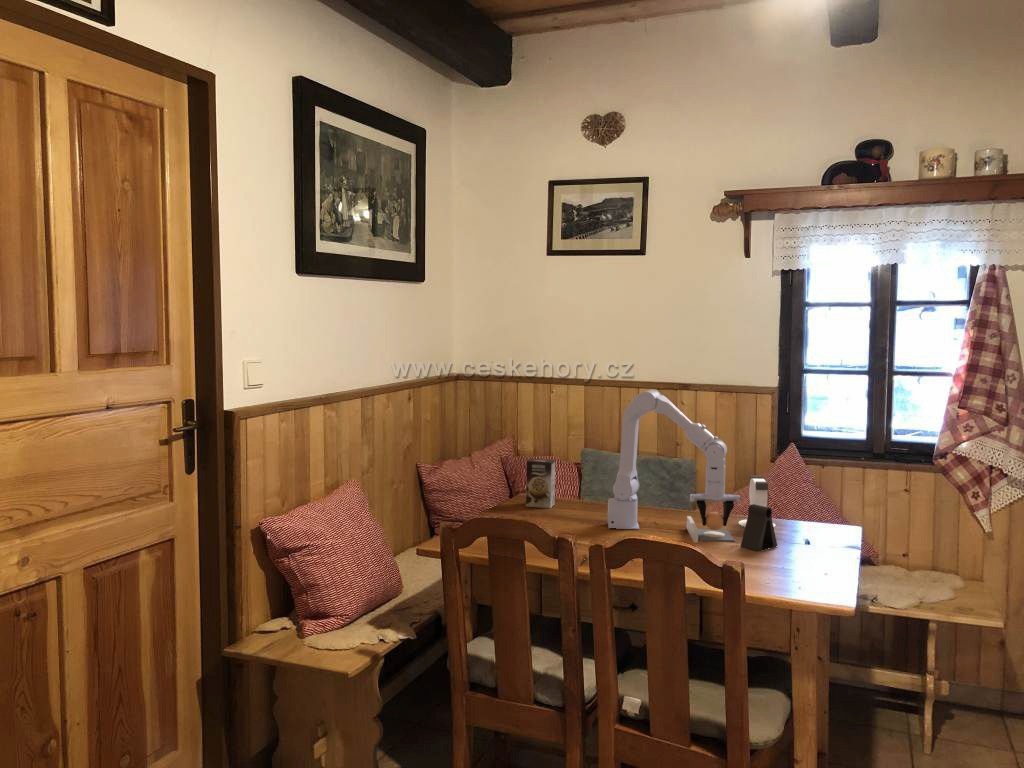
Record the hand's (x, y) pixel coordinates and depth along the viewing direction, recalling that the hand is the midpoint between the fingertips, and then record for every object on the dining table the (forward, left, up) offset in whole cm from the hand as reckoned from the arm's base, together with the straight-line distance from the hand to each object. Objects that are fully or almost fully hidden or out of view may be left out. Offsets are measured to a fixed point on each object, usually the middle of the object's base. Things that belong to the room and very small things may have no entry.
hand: (714, 525), depth 252 cm
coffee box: (-54, +35, -3) cm, 64 cm away
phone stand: (+11, -11, -4) cm, 16 cm away
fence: (-6, 0, -3) cm, 7 cm away
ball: (0, 0, +1) cm, 1 cm away
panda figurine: (+16, +15, -3) cm, 22 cm away
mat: (0, 0, -3) cm, 3 cm away
